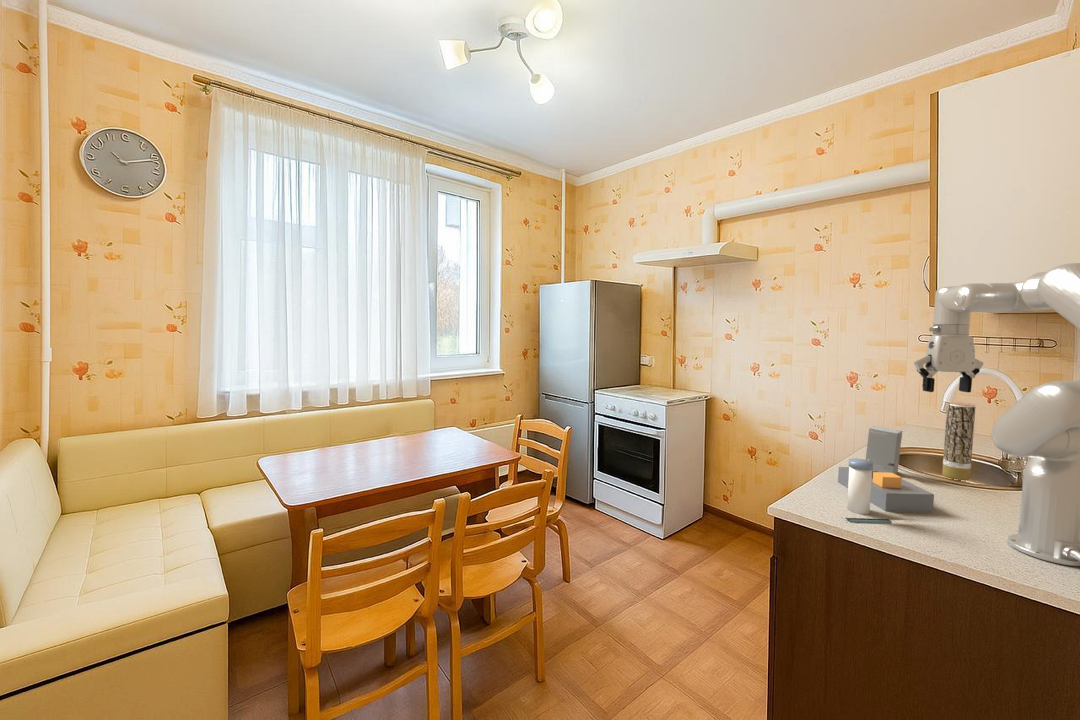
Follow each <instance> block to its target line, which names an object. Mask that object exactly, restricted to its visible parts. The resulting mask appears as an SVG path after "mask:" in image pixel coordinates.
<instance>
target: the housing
mask: <svg viewBox="0 0 1080 720" xmlns="http://www.w3.org/2000/svg"><path fill="white" fill-rule="evenodd" d="M873 472H886V471H884V470H882V469H880V468H873V470H872V481H871V498H870V504H872V505H874V506H876V507H878V508H879V509H881V510H883V511H884V512H891V513H893V512H894V513H897V512H898V513H925V514H926V513H930V514H933V513H934V502H935V501H934V500H935V494H934V493H932V492H929V491H928V490H926V489H923V488H921V487H920V486H917V485H915V484H913V483H912V482H909V481H907V480H905V479H903V478H902V483H901V488H882V487H880V486H878V485H876V484H875V483H873ZM837 473H838V475H837V476H838V477H837V483H838V484H840V485H841V486H843V487H844V488H846V489H848V481H849V466H838V472H837ZM886 473H889V472H886Z"/></svg>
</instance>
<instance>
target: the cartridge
mask: <svg viewBox="0 0 1080 720" xmlns="http://www.w3.org/2000/svg"><path fill="white" fill-rule="evenodd" d="M848 467H849V481H848V488H847V500H846V501H847V505H846V510H847V511H849V512H851V513H854V514H857V515H869V514H871V513H870V512H871V511H870V510H871V509H870V508H871V502H870V498H871V481H872V470H873V462H871V461H868V460H866V459H863V458H854V457H853V458H849V459H848Z"/></svg>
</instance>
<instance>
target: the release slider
mask: <svg viewBox="0 0 1080 720" xmlns="http://www.w3.org/2000/svg"><path fill="white" fill-rule="evenodd" d="M902 479H903V477H902V476H899V475H897V474H894V473H886V472H873V483H875V484H876V485H878V486H880V487H882V488H901V483H902Z"/></svg>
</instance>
